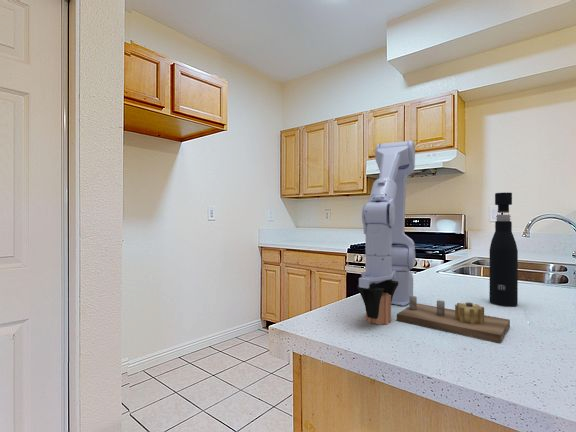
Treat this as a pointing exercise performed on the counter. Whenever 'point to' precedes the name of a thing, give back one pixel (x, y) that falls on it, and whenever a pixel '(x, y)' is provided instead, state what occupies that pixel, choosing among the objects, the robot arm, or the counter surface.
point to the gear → (383, 311)
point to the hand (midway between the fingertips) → (378, 314)
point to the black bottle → (503, 257)
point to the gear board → (456, 319)
